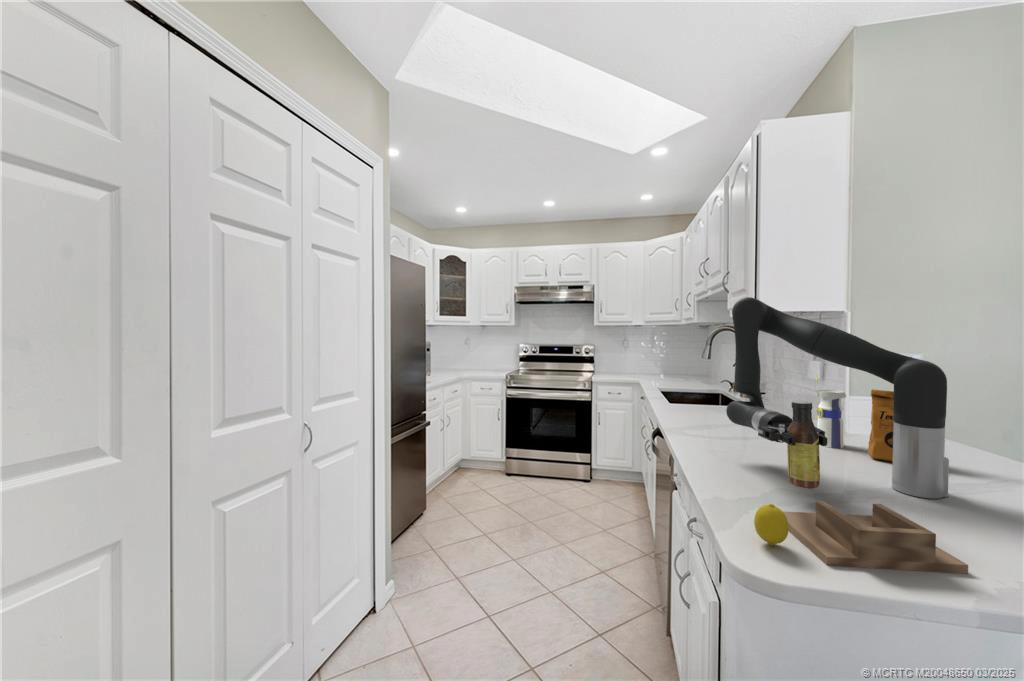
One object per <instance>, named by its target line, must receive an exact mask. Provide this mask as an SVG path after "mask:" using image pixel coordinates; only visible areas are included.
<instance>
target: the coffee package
mask: <svg viewBox="0 0 1024 681" xmlns="http://www.w3.org/2000/svg"><path fill="white" fill-rule="evenodd" d="M870 397H871V418H870V425H871V430H870V434H869V441H868V449H867V452H868V454H869V457H870V458H872V459H877V460H881V461H886V462H891V463H893V422H894V421H893V419H894V416H893V403H894V390H893V391H891V390H883V389H874V388H873V389H871V391H870Z"/></svg>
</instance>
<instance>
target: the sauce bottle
mask: <svg viewBox="0 0 1024 681" xmlns="http://www.w3.org/2000/svg"><path fill="white" fill-rule="evenodd" d="M791 408H792V417H791V419H792V420H793V421H792V423H791V424H790V426H789V427H788V434H790V435H792V436H794V437H795V446H791V445H789V444H787V443H786V444H787V476H788V481H789V483H790V484H791V485H794V486H795V487H798V488H803V489H816V488H818V487H819V486H820V480H821V472H820V471H821V470H820V469H821V467H820V463H821V462H820V460H821V459H820V445H819V436H818V433H817V431H816V428H815V427H816V425H815V423H814V421H813V416H812V410H813V403H812V402H810V401H804V400H795V401H794V400H792V401H791Z"/></svg>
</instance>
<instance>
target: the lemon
mask: <svg viewBox="0 0 1024 681" xmlns="http://www.w3.org/2000/svg"><path fill="white" fill-rule="evenodd" d="M753 521H754V523H753V524H754V528H755V532H756V534H757V535H758V536H759V538H760V539H761V540H763V541H764V542H766V543H767V545H769V546H774V545H777V544H781V543H783V542H784V541H785V540H786V539H787V537H788V535H789V531H788V521H787V518H786V516H785V514H784V513H783V510H782V509H780V508H779V507H777V506H776V505H774V504H773V503H768V504H764V505H761V506H760V507H758V509H757V510H756V511H755V514H754V520H753Z"/></svg>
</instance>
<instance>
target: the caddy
mask: <svg viewBox="0 0 1024 681" xmlns="http://www.w3.org/2000/svg"><path fill="white" fill-rule="evenodd" d="M782 511H783V510H782ZM783 513H784V514H785V516H786V518H787V521H788V533H790V534H792V536H794V537H795V538H796V539H797V540H798V541H799V542H800V543H802V544H803V545H804V546H805V547H806V548H807V549H808V550H809V551H810V552H811V553H813V554H814V555H815V556H816V557H817V558H818V559H819V560H821V561H822V562H823V563H824V564H825V565H826V566H833V567H834V566H836V567H837V566H838V567H850V568H851V567H852V568H853V567H854V568H855V567H856V568H866V569H867V568H868V569H869V568H870V569H883V570H885V569H887V570H901V571H904V570H905V571H917V572H918V571H920V572H933V573H947V574H949V573H950V574H952V573H953V574H965V575H966V574H967V575H968V574H969V564H967V563H966V562H964V561H962V560H961V559H959V558H958V557H955V556H954V555H952V554H951V553H948V552H946V550H944V549H942V548H940V547H938V546H937V542H936V541H937V534H936V533H934V532H933V531H931V530H929V529H927V528H926V527H924V526H922V525H920V524H918V523H916V522H914V521H913V520H911V519H909V518H907V517H906V516H903V515H902V514H900V513H898V512H897V511H895V510H893V509H891V508H889V507H887V506H885V505H884V504H882V503H872V515H869V514H868V515H867V514H866V515H865V514H846V513H842V512H840V511H839V510H837V509H836V508H834V507H833V506H831V505H830V504H829V503H827V502H826V501H822V500H815V512H808V511H807V512H804V511H803V512H802V511H800V512H799V511H786V510H785V511H783Z"/></svg>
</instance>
